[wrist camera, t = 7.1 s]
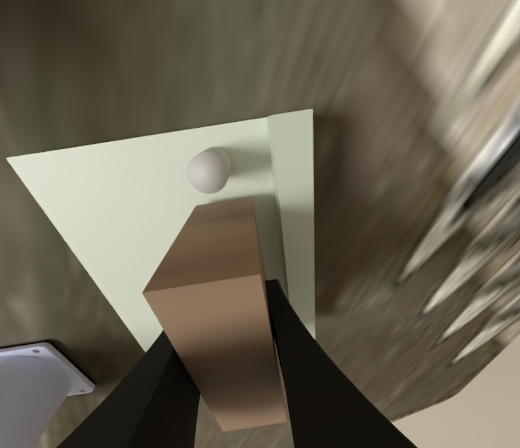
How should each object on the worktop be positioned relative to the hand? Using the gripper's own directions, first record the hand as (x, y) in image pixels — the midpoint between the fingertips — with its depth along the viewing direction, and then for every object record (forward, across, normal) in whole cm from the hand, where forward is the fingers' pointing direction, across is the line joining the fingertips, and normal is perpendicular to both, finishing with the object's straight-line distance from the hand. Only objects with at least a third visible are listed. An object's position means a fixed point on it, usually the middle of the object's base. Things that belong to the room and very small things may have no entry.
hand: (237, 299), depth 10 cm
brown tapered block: (+3, 0, 0) cm, 3 cm away
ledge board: (+4, +3, 0) cm, 5 cm away
